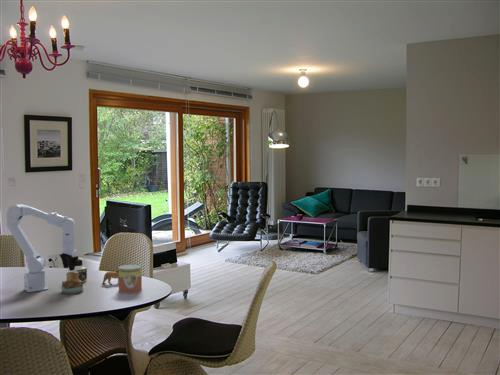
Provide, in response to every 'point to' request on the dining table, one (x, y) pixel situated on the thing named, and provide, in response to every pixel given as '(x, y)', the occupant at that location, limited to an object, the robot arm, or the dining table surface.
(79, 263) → the medicine bottle
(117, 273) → the lion figurine
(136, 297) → the dining table surface
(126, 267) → the canned food
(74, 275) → the block
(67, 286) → the brown wooden rectangular frame
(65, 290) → the pale green domed part
